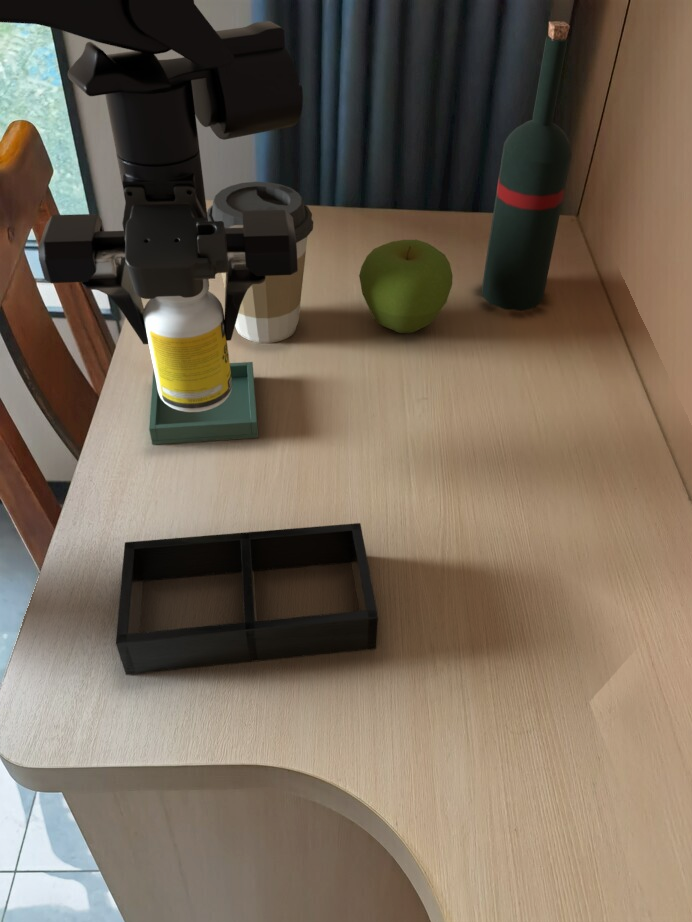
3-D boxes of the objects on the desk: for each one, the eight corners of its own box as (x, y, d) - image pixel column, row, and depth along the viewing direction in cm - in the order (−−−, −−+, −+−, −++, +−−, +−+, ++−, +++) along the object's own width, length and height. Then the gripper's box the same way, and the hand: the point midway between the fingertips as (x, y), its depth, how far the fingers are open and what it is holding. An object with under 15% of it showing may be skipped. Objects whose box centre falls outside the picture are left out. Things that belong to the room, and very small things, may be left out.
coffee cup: (335, 328, 94) (336, 202, 83) (260, 366, 87) (251, 236, 77) (271, 290, 99) (264, 168, 88) (196, 324, 93) (179, 197, 82)
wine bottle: (526, 268, 106) (574, 7, 85) (551, 308, 99) (611, 35, 78) (469, 271, 105) (503, 7, 83) (490, 312, 98) (534, 35, 76)
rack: (125, 675, 59) (115, 643, 56) (133, 574, 66) (124, 541, 63) (376, 648, 62) (378, 617, 59) (359, 555, 69) (360, 522, 66)
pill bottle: (235, 412, 69) (221, 292, 61) (158, 419, 68) (134, 297, 60) (230, 369, 74) (217, 251, 66) (159, 374, 73) (136, 255, 65)
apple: (385, 292, 100) (389, 215, 93) (462, 316, 97) (472, 238, 90) (341, 332, 93) (342, 252, 86) (422, 360, 90) (429, 279, 83)
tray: (152, 444, 78) (148, 428, 76) (156, 382, 85) (153, 366, 83) (258, 437, 79) (257, 422, 78) (253, 377, 86) (252, 361, 85)
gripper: (-4, 203, 49) (58, 404, 61) (299, 196, 52) (305, 391, 63) (26, 134, 57) (76, 324, 68) (288, 131, 60) (296, 315, 71)
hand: (187, 339), depth 67 cm, fingers closed on pill bottle, 6 cm apart
